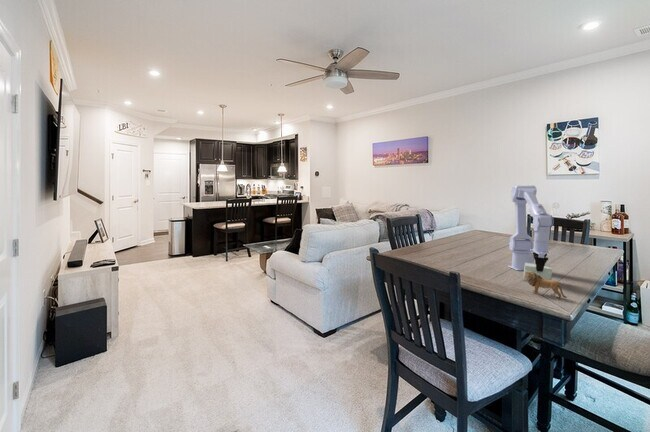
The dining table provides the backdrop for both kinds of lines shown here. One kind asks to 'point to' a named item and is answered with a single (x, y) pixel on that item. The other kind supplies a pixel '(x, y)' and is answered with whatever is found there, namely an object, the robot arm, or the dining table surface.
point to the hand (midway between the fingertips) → (539, 269)
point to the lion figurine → (542, 283)
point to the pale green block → (545, 274)
